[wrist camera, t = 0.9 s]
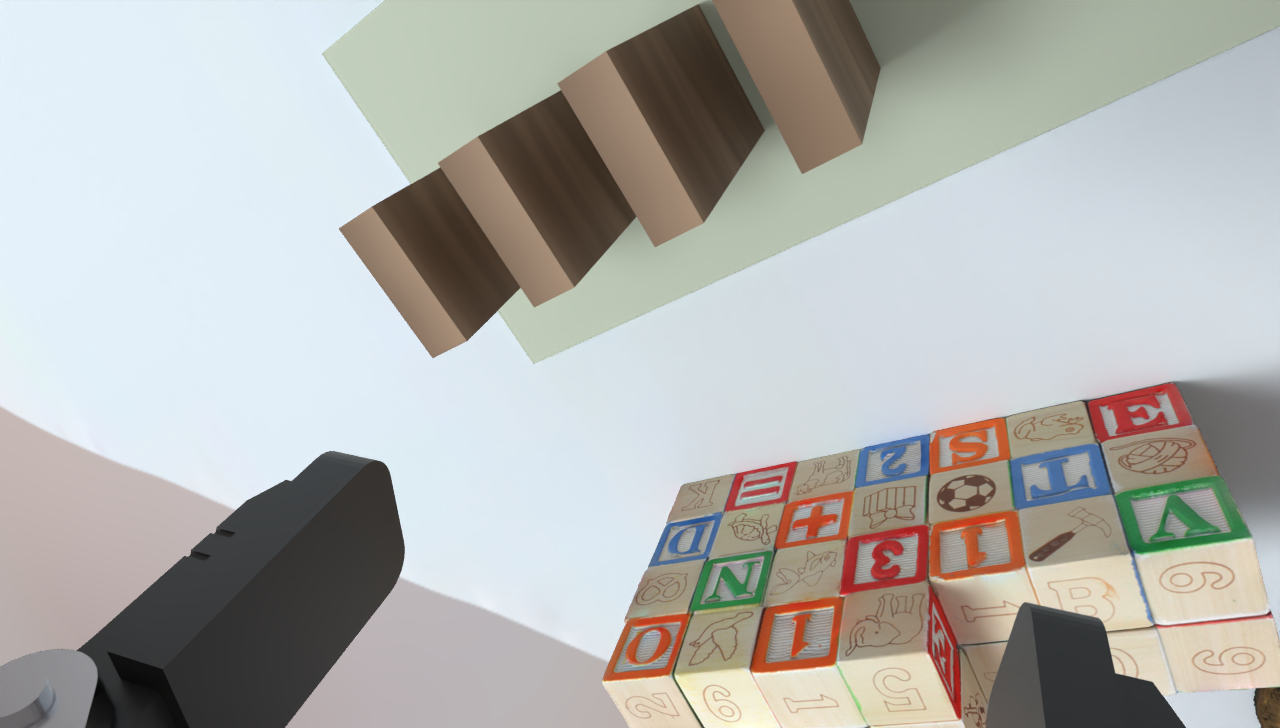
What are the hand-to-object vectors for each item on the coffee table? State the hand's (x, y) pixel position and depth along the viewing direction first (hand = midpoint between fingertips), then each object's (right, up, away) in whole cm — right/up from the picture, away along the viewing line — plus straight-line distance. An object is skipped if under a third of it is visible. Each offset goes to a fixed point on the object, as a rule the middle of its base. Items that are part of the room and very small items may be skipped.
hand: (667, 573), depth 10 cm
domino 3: (+2, +13, +19) cm, 23 cm away
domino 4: (+6, +14, +17) cm, 23 cm away
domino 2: (-1, +11, +22) cm, 24 cm away
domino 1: (-5, +10, +24) cm, 26 cm away
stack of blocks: (+12, -3, +26) cm, 29 cm away
